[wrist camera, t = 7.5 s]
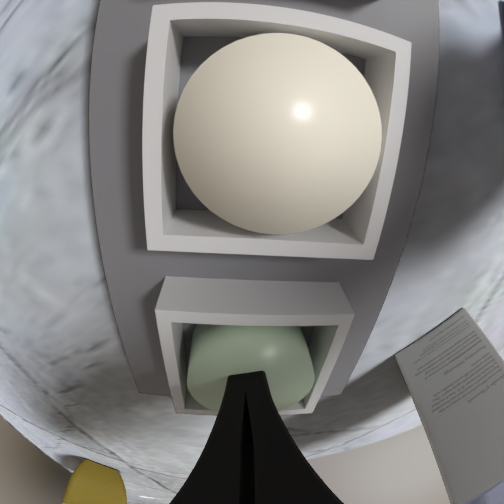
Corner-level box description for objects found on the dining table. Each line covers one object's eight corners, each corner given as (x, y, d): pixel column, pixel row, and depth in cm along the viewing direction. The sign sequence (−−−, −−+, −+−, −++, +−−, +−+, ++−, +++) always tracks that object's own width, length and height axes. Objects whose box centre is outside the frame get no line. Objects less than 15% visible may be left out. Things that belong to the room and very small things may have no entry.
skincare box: (468, 355, 19) (536, 487, 6) (408, 395, 21) (461, 537, 7) (463, 302, 16) (572, 478, 2) (387, 354, 17) (463, 556, 4)
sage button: (314, 301, 12) (329, 343, 10) (292, 376, 14) (300, 414, 12) (189, 298, 11) (181, 342, 9) (195, 375, 14) (191, 414, 11)
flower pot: (73, 449, 25) (61, 503, 18) (134, 471, 28) (127, 525, 20) (72, 461, 29) (63, 507, 21) (123, 480, 31) (118, 525, 24)
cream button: (355, 66, 7) (391, 58, 5) (334, 209, 10) (361, 239, 8) (194, 46, 7) (181, 27, 5) (186, 199, 9) (173, 230, 7)
